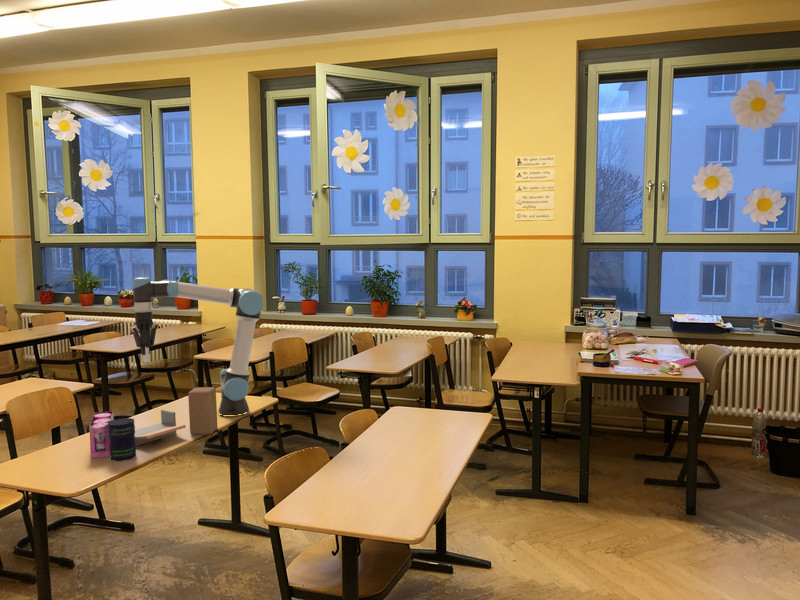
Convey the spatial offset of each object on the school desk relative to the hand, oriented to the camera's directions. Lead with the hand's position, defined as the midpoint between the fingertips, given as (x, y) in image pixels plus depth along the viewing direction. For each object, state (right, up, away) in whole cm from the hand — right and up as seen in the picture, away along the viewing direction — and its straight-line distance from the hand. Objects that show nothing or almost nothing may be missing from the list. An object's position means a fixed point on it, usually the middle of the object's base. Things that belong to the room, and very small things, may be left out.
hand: (146, 361), depth 287 cm
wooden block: (+28, -32, -2) cm, 43 cm away
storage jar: (+5, -36, -35) cm, 50 cm away
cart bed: (+5, -33, -11) cm, 35 cm away
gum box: (-8, -35, -24) cm, 43 cm away
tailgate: (+9, -30, -14) cm, 34 cm away
